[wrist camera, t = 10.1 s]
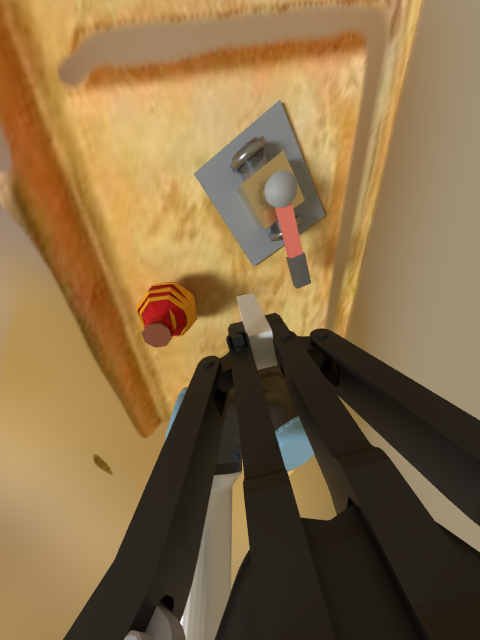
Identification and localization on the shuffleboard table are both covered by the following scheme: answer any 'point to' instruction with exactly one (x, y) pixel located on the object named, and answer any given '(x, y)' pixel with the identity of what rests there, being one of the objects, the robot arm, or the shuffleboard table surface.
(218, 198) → the slate board
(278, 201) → the lever
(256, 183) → the valve body
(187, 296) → the potion bottle
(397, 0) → the shuffleboard table surface
